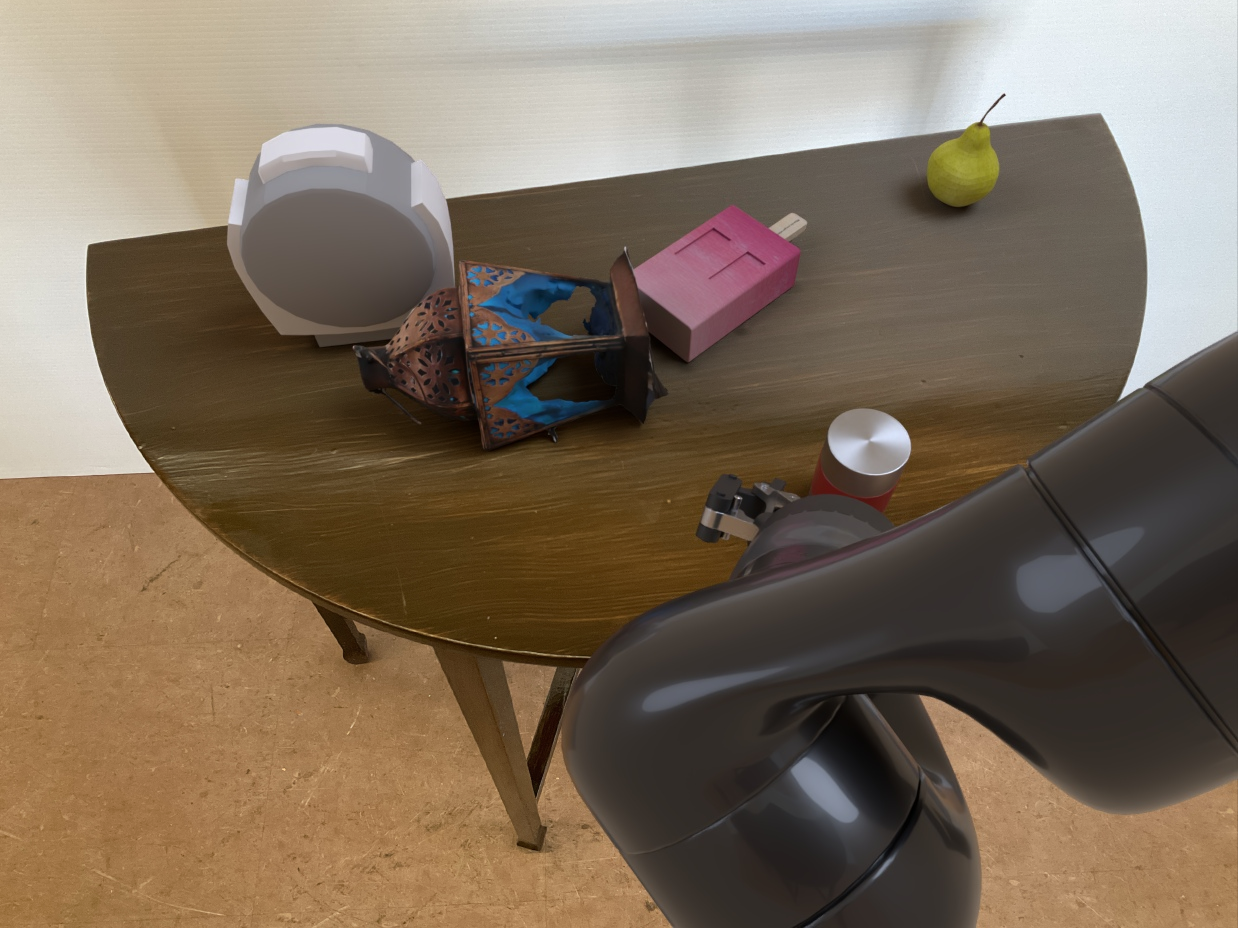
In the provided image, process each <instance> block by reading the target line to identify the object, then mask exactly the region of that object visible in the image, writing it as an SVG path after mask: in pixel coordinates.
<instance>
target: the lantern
mask: <svg viewBox="0 0 1238 928" xmlns="http://www.w3.org/2000/svg"><path fill="white" fill-rule="evenodd" d="M632 264H633V263H632V261H631V258H630V254H629V250H628V248H627V246H624V248H623V251H622V254H620V255H619V256H618V257H617V258H616V259H615V260H614V262H613V264H612V266H611V267H610V268H609V280H608V281H607V282H606V281H602V280H600V279H597V278H587V277H582V276H581V277H580V276H574V275H569V274H560V273H557V272H553V273H552V272H549V271H543V272H542V271H540V270H533V269H528V268H524V267H523V268H522V267H516V266H509V265H498V264H493V263H486V262H479V261H472V260H465V259H460V260H459V261H458V271H459V272H458V273H459V283H458V286H455V287H451V288H444V289H440V290H438V291H436V292H434V293H433V294H431V295H429V296H427V297H426V298H425V299H424V300H423V301H422V302H420V303H419V304H418V305H417V306H416V307H415V308H414V309H413V310H412V311H411V313H410V314H409V316H408V317H407V318H406V319H405V320H404V322H403V324H402V326H401V327H400V329H399V330H398V332H397V333H396V335H395V336H394V337H393V339H390V341H389V342H388V343H387V344H386V345H380V346H369V347H368V346H364V345H353V346H352V350H353V352H354V354H355V355H356V358H357V363H358V366H359V373H360V378H361V381H362V385H363V388H364V389H366V391H368V393H374V394H377V395H380V394H381V395H383V396H385V397H387V398H388V399H389V400H390V401H391V402H392V403H393V404H394V406H395V407H396V408H397V409H399V410H400V411H401V412H402V413H403V414H405V416H407V417H408V418H409V419H410V420H412V421H413V422H414V423H416V424H418V425H423V424H422V421H419V420H418V419H417V418H415V417H414V416H413V415H412V414H410V412H408V411H407V410H406V409H405V407H404V406H402V404H401V403H399V402H398V401H397V400H395V399H394V397H393V396H392V395H390V394H389V392H388V391H387V390H388V389H393V390H395V391H398V392H400V393H401V394H403V395H404V396H405V397H407V398H409V399H410V400H413V401H414V402H416V403H417V404H418V405H420V406H422V407H424V408H426V409H427V410H429V411H431V412H432V413H434V414H436V415H437V416H440V417H442V418H446V419H448V420H453V421H457V422H472V421H476V420H478V424H479V430H480V435H481V437H480V438H481V444H482V448H483V450H484V451H486V452H487V451H488V452H489V451H492V450H494V449H498V448H500V447H504V446H505V445H509V444H512V443H515V442H517V441H519V440H524V439H526V438H530V436H532V435H534V434H538V433H540V432H543V431H545V430H546V431H547V435H549V436H551V438H552V441H553V442H554V443H556V444H557V443H558V438H559V436H558V434H557V433H556V428H557V427H559V426H561V425H564V424H566V423H567V424H568V423H570V422H572V421H575V420H577V419H579V418H584V417H585V416H588V415H590V414H594V413H597V412H600V411H604V410H606V409H609V408H612V407H617V406H622V407H623V408H624V409H625V410H627V411H628V412H630V413H632V415H634V417H635V418H636V419H637V420H638V421H639V422H640V423H641V424H642V425H645V422H646V420H647V415H648V412H649V408H650V407H651V406H652V404H653V403H654V402H655V400H658V399H661V398H663V397H667V396H668V395H669V391H668V388H666V387H664V385H663V383H662V382H661V380H660V379H659V377H658V375H657V373H656V369H655V365H654V364H655V363H654V358H653V351H652V348H651V347H652V346H651V335H650V332H648V328H647V323H646V319H645V316H644V312H643V308H642V305H641V301H640V296H639V292H638V287H637V283H636V279H635V275H634V270H633V269H634V268H633V265H632ZM577 287H579V288H582V287H584V288H588V289H589V290H590V291H589V292H590V294H591V295H592V296H593V297H594V299H595V303H594V306H592V307H591V310H590V311H591V312H590V315H589V321H587V319H586V318H583V320H582V324H583V327H584V330H586V331H587V335H586V334H584V335H583V334H581V335H578V334H573V335H568V334H565V333H563V332H561V331H558V330H556V329H554V328H552V327H551V326H549V325H548V324H542V323H541V320H542V319H541V317H539V316H541V315H543V314H544V313H545V312H546V311H547V310H549V308H550V307H551V306H552V304H554V303H555V302H558V301H569V300H570V299H571V297H572V295H573V293H574V291H575V289H576V288H577ZM529 315H530V317H531V318H532V319H533V320H536V321H534V322H533V321H532V320H531V319H529ZM593 353H594V358H593V363H594V364H595V370H596V373H597V375H598V376H599V377H602V381H603V382H604V384H606V385H607V386H611V387H615V391H614V392H615V393H614V395H613V397H611V398H610V399H603V400H599V399H598V400H589V401H579V402H574V401H573V400H564V399H562V398H556V399H548V400H539V397H537V396H534V395H533V393H532V392H531V391H530V390H529V389H528V388H527V387H528V386H529V385H531V384H532V383H534V382H536V381H537V380H538V379H540V378H541V377H542V376H543V375H545V374H547V372H548V369H549V367H551V366H553V364H554V363H555V362H556V361H557V359H563V358H567V357H571V356H578V355H579V356H580V355H588V354H593Z"/></svg>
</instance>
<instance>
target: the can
mask: <svg viewBox="0 0 1238 928" xmlns="http://www.w3.org/2000/svg"><path fill="white" fill-rule="evenodd" d="M911 454H912V441H911V438H910V434H909V433H908V431H907V430H906V427H904V425H903V424H902V423H901V422H900V421H899V420H898V419H896V417H894V416H892V415H891V414H889V413H887V412H884V411H881V410H878V409H874V408H865V407H862V408H861V407H859V408H853V409H850V410H847V411H844V412H842V413H840V414H839V415H838V416H837V417H835V418H834V419H833V420H832V422H831V423H830V425H829V427H828V430H827V433H826V436H825V439H824V443H823V446H822V448H821V450H820V454H819V456H818V460H817V462H816V465H815V469H814V472H813V476H812V479H811V483H810V487H809V490H808V494H807V496H812V495H820V494H834V495H842V496H847V497H851V498H854V499H857V500H859V501H862V502H864V503H866V504H868V505H870V506H872V507H873V508H875V509H876V510H878V511H879V512H881V513H882V514H883V515H884V512H885V511H886V510H887V507H888V505H889V503H890V502H891V499H892V497H893V494H894V493H895V490H896V488H897V486H898V484H899V482H900V479H901V476H902V474H903V472H904V470H905V467H906V465H907V463H908V461H909V459H910V456H911Z"/></svg>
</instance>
